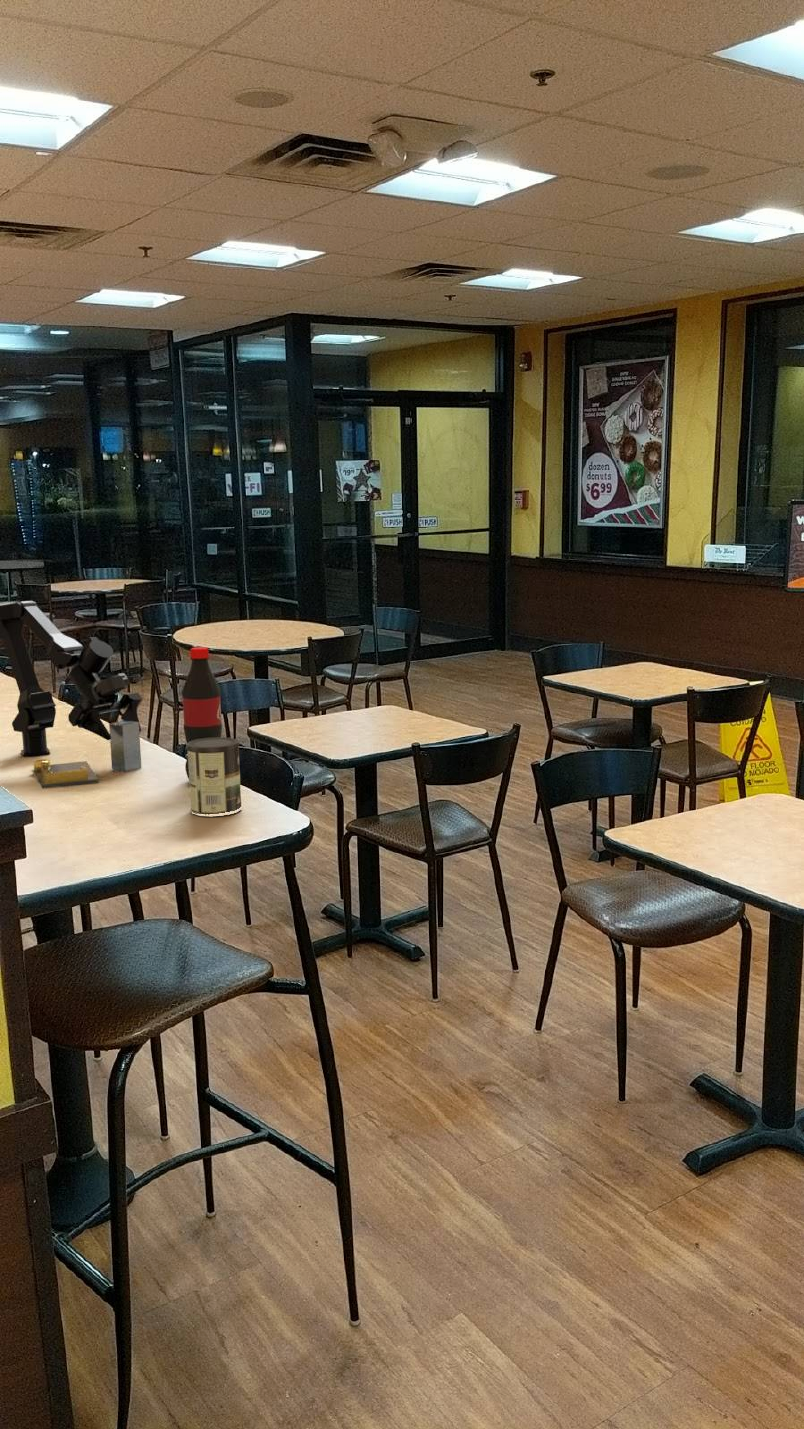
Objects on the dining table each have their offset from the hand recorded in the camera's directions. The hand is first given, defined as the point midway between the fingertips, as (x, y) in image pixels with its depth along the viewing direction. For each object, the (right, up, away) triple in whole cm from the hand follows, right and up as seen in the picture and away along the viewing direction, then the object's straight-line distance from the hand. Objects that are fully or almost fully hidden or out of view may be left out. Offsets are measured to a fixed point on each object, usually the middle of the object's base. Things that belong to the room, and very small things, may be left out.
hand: (125, 735), depth 254 cm
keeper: (-12, -9, -5) cm, 16 cm away
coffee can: (+27, -15, -36) cm, 48 cm away
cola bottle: (+21, -10, -11) cm, 26 cm away
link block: (0, -8, +2) cm, 8 cm away
